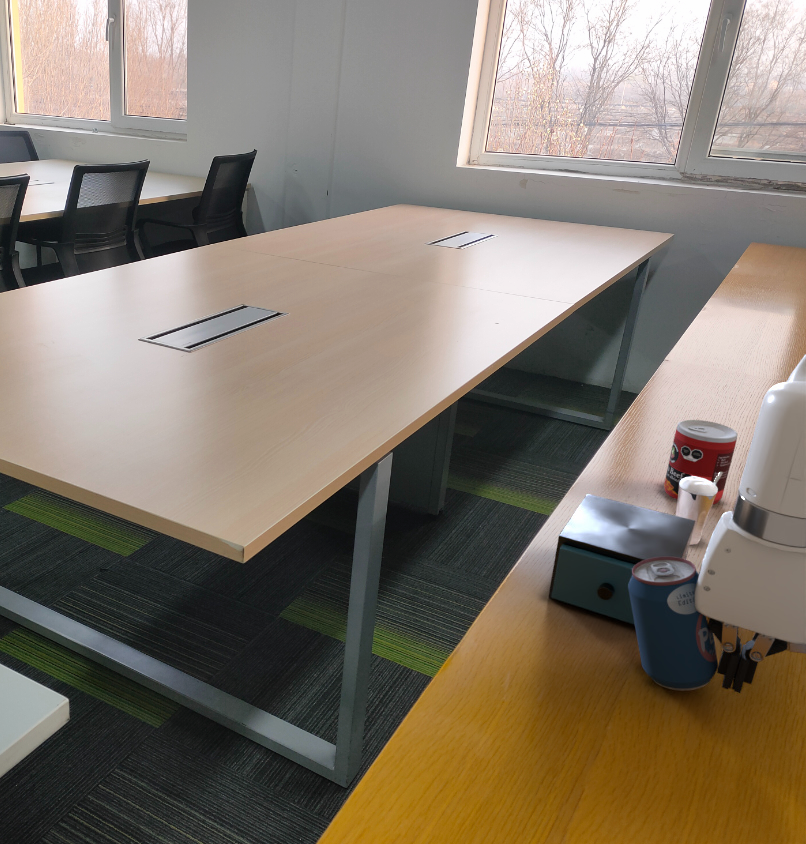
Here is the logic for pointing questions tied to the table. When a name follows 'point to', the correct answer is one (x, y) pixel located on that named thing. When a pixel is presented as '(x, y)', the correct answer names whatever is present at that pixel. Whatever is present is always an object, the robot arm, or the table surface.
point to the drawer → (594, 582)
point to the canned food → (700, 454)
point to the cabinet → (624, 533)
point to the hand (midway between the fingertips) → (732, 682)
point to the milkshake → (696, 502)
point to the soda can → (671, 624)
